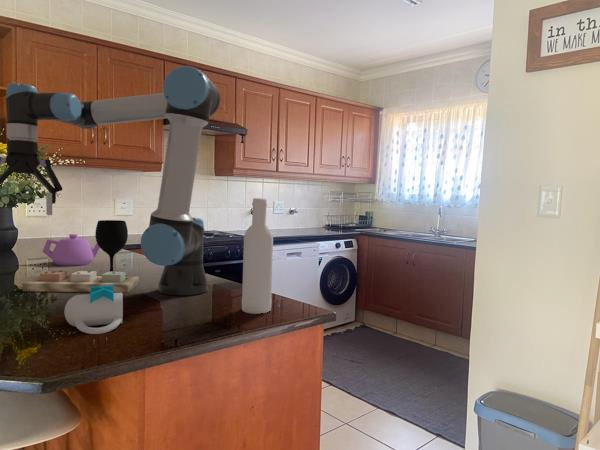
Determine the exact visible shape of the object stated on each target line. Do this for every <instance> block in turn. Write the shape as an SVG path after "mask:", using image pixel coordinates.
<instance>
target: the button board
mask: <svg viewBox="0 0 600 450" xmlns="http://www.w3.org/2000/svg"><path fill="white" fill-rule="evenodd" d="M139 279H140V277H139V276H134V275H133V276H128V275H126V280H124V281H123V282H102V276H100V275H96V280H94V281H93V282H71V275H67V279H65V280H63V281H61V282H47V281H40V276H38V277H35V278H33V279H30V280H28V281H25V282H22V292H45V291H47V292H54V293H55V292H56V293H58V292H60V293H61V292H62V293H63V292H64V293H67V292H68V293H74V292H75V293H91V286H108V285H113V289H114V293H129V292H130V291H132V289H134V288H135V287H136V286H138V285H139V283H140V282H139Z"/></svg>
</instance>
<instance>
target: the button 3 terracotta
mask: <svg viewBox="0 0 600 450" xmlns="http://www.w3.org/2000/svg"><path fill="white" fill-rule="evenodd" d="M67 276H68V271H67V270H47V271H43V272H41V273H39V277H40V281H47V282H61V281H63V280H65V279H67Z"/></svg>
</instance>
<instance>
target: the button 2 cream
mask: <svg viewBox="0 0 600 450" xmlns="http://www.w3.org/2000/svg"><path fill="white" fill-rule="evenodd" d="M70 276H71V282H93V281H94V280H96V276H97V271H95V270H94V271H91V270H89V271H88V270H78V271H75V272H73V273H70Z"/></svg>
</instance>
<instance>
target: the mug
mask: <svg viewBox="0 0 600 450" xmlns="http://www.w3.org/2000/svg"><path fill="white" fill-rule="evenodd" d="M123 298H124V297H123V292H114V289H113V285H108V286H91V292H89V293H87V294H77V295H74V296H72V297H70V299H68V301H67V302H66V304H65V306H64V317H65V320H66V321H67V323H68V324H69V325H71V326H72V327H74V328H75V327H76V329H78V330H79V331H80V332H82V333H85V334H89V335H100V334H101V335H102V334H105V333H106V334H107V333H108V332H112V331H113V330H115V329H116V328H117V327H118V326H119V325H120V324H121V325H122V324H123V319H124V318H123V317H124V306H123V305H124V300H123ZM96 326H101V327H96Z"/></svg>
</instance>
